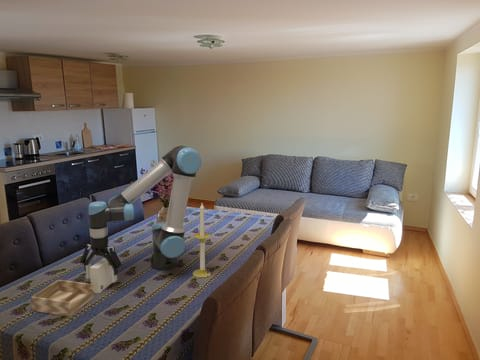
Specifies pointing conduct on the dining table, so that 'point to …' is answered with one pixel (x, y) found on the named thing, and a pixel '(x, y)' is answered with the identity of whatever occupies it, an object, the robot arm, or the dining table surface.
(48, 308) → the cabinet carcass
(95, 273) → the plain off-white rectangular block
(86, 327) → the dining table surface
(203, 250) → the candle
